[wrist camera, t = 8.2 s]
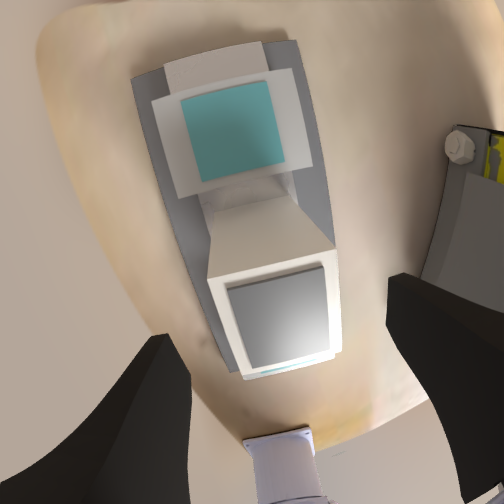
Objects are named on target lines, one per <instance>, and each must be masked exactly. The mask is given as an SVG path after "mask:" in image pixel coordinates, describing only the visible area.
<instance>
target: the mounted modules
mask: <svg viewBox="0 0 504 504" xmlns="http://www.w3.org/2000/svg"><path fill="white" fill-rule="evenodd" d="M151 102H152V106H153V110H154V114H155V118H156V122H157V126H158V130H159V133H160V137H161V141H162V144H163V148H164V152H165V155H166V159H167V162H168V166H169V169H170V172H171V176H172V179H173V183H174V186H175V189H176V192H177V196H178V199H180V198H184V197H187V196H191V195H194V194H198V193H202V192H205V191H209V190H213V189H217V188H220V187H224V186H228V185H232V184H236V183H240V182H244V181H248V180H252V179H257V178H261V177H265V176H270V175H274V174H279V173H283V172H288V171H293V170H297V169H302V168H307V167H312V166H313V164H312V158H311V153H310V148H309V143H308V138H307V133H306V128H305V123H304V118H303V114H302V109H301V105H300V101H299V96H298V92H297V88H296V84H295V80H294V76H293V72H292V68H288V69H280V70H273V71H267V72H261V73H256V74H250V75H245V76H240V77H235V78H231V79H226V80H222V81H218V82H214V83H210V84H206V85H202V86H198V87H195V88H191V89H188V90H184V91H181V92H178V93H175V94H171V95H168V96H165V97H162V98H159V99H156V100H154V101H151ZM224 332H225V330H224ZM225 334H226V332H225ZM226 337H227V335H226ZM227 339H228V338H227ZM228 342H229V341H228ZM229 344H230V343H229ZM230 347H231V346H230ZM232 352H233V351H232ZM333 358H335V354H334V353H333V354H330V355H326V356H323V357H319V358H315V359H312V360H308V361H304V362H300V363H296V364H292V365H288V366H284V367H280V368H275V369H271V370H266V371H262V372H257V373H252V374H247V375H242V376H243V379H244V381H245V380H250V379H255V378H260V377H264V376H269V375H273V374H278V373H282V372H286V371H290V370H294V369H298V368H302V367H305V366H309V365H313V364H316V363H320V362H323V361H326V360H330V359H333Z"/></svg>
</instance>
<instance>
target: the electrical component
mask: <svg viewBox="0 0 504 504" xmlns="http://www.w3.org/2000/svg"><path fill="white" fill-rule="evenodd" d="M445 153H446V154H447V156H448V157H449V165H448V171H447V177H446V182H445V188H444V193H443V198H442V202H441V207H440V211H439V215H438V219H437V223H436V227H435V231H434V235H433V238H432V242H431V245H430V249H429V252H428V255H427V259H426V262H425V265H424V268H423V271H422V274H421V277H420V279H422V280H424V281H426V282H428V283H431V284H433V285H435V286H437V287H440V288H442V289H444V290H446V291H449V292H451V293H453V294H455V295H458V296H460V297H462V298H465V299H467V300H469V301H472V302H474V303H477V304H479V305H482V306H485V307H487V308H490V309H493V310H496V311H498V312H502V313H504V132H503V131H497V130H492V129H486V128H479V127H473V126H465V125H457V126H455V125H453V132H451V133H450V134H449V135H448V136H447V137H446V142H445ZM498 489H499V493H500V492H501V491H502V490H504V488H503V486H502V484H501V482H500V483H499V485H498Z"/></svg>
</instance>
